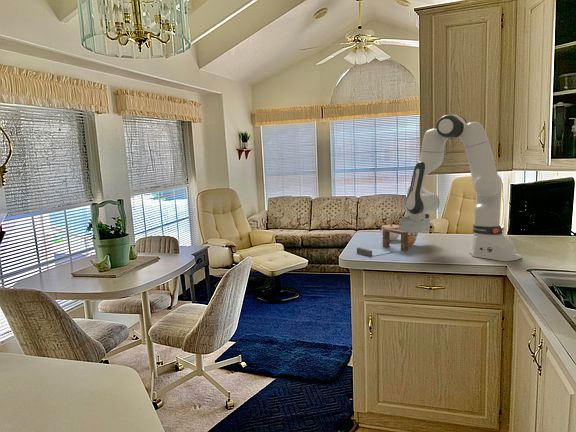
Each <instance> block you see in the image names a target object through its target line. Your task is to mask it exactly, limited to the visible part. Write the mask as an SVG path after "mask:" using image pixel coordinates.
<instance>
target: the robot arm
mask: <svg viewBox="0 0 576 432" xmlns="http://www.w3.org/2000/svg"><path fill="white" fill-rule="evenodd" d="M435 126H436V127H435V128H430V129H428V130H426V131H425V132H424V135H423V139H422V143H421V151H420V157H419V159H418V161H417V163H416V164H415V166H414V169H413V172H412V177H411V182H410V186H409V187H408V189H407V192H406V199H405V208H406V212H405V216H402V217H401V218H400V219H399V222H398V225H399V228H398V230H401V231H406V232H408V235H409V234H410V235H413V236H414V238H415V242H416V241H417V237H418V235H419V233H424V232H429V231H430V227H431V220H430V218H431V214H430V212H433V211H437V210H438V209H439V206H440V197H439V195H437V193H433V192H431V191H429V190H428V189H426V188H425V187H424V182H425V179H426V177H427V176H428V174H430V173H431V172H433V171H435V170H437V169H438V168H439V167H440V166H441V165H443V164H442V163H443V162H444V159H445V147H446V144H447V141H448V140H451V139H455V138H459V139H460V140H461V142H462V144H463V148H464V152H465V156H466V158H467V162H468V167H469V170H470V174H471V179H472V182H473V183H472V184H473V188H474V192H475V193H476V194H475V204H474V221H473V222H474V223H473V225H472V234H473V236H472V242H471V247H470V250H469V254H470V255H471V257H474V258H475V257H476V258H480V259H487V260H488V259H489V260H493V261H494V260H495V261H500V262H511V261H517V260H519V259H521V258H522V255H521V254H518V253H517V249H516V246H515V243H513V241H511V240H510V239H509V238H508V237H507V236H506V235H505V234H504V232H503V231H504V230H506V229H505V228H506V227H503V228H502V226H501V225H500V222H501V221H500V220H501V202H502V189H503V180H502V178H501V176H500V175H499V174H498V169H497V166H496V162H495V161H496V160H495V157H494V154H493V150H492V146H491V143H490V140H489V137H488V135H487V131H486V129H485V127H484V126H483V124H482V123H481V122H479V121H471V122H467V120H466V118H464V116H461V115H457V114H445V115H443V116H441V117H440V118H438V120H437V122H436V125H435Z"/></svg>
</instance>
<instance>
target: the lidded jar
mask: <svg viewBox="0 0 576 432" xmlns="http://www.w3.org/2000/svg"><path fill="white" fill-rule="evenodd" d="M383 228H390V229H396V230H398V228H399V224H393V223H389V224H384V225H381V233H382V234H381V235H382V236H383ZM400 236H401V234H397V233H392V232H390V240H393V241H396V240H397V239H399V237H400Z"/></svg>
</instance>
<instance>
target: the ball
mask: <svg viewBox="0 0 576 432" xmlns="http://www.w3.org/2000/svg"><path fill="white" fill-rule="evenodd" d="M415 242H416V241H415V238H414V236H413V235H410V234H408V247H410V246H413V245H414V244H415Z"/></svg>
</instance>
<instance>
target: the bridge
mask: <svg viewBox="0 0 576 432" xmlns="http://www.w3.org/2000/svg"><path fill="white" fill-rule="evenodd" d="M390 232H392V233H397V234H400V251H401V252H408V251H409V246H408V235H409V234H408V232H406V231H401V230H396V229H390V228H383V235H382V247H384V248H386V247H387V248H389V247H390V243H391V241H390Z"/></svg>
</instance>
